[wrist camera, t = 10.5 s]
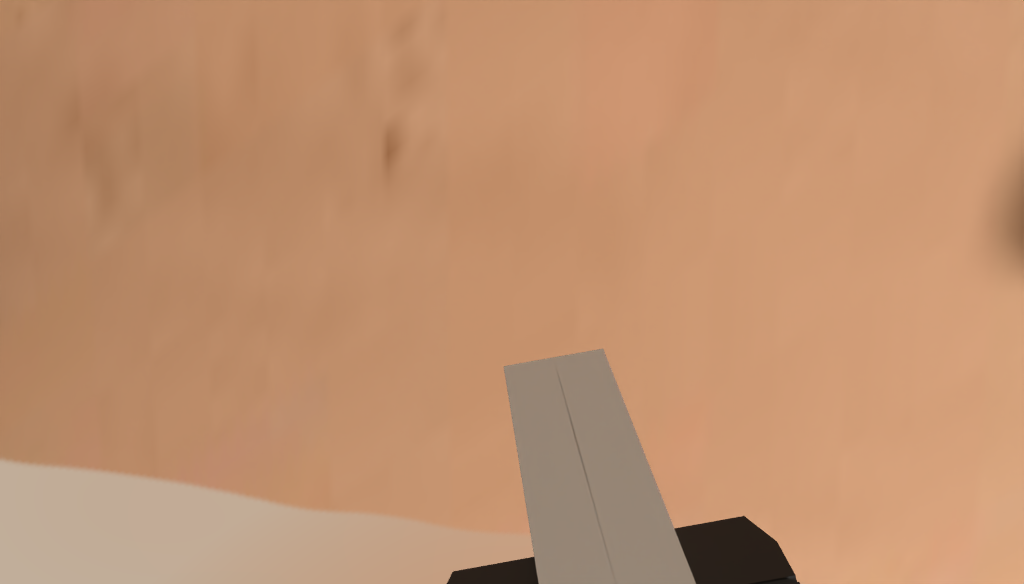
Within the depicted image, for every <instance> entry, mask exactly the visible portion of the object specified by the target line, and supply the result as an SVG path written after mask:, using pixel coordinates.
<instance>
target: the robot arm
mask: <svg viewBox="0 0 1024 584" xmlns="http://www.w3.org/2000/svg"><path fill="white" fill-rule="evenodd" d="M504 371H505V377H506V384H507V390H508V396H509V402H510V408H511V415H512V421H513V427H514V433H515V440H516V446H517V452H518V458H519V464H520V471H521V477H522V483H523V489H524V496H525V502H526V508H527V514H528V520H529V527H530V533H531V539H532V545H533V551H534V557H531V558H525V559H520V560H514V561H509V562H503V563H498V564H493V565H487V566H481V567H476V568H470V569H465V570H459V571H454V572H452V575H451V577H450V579H449V581H448V583H447V584H800V583H799V582H797V580H796V576H795V574H794V572H793V570H792V568H791V566H790V565H789V563H788V561H787V559H786V557H785V556H784V554H783V552H782V550H781V548H780V546H779V545H778V543H777V541H775V540H774V539H773V538H772V537H770V536H769V535H768V534H766V533H765V532H764V531H763V530H761V529H760V528H759V527H757V526H756V525H755V524H754V523H752V522H751V521H750V520H748V519H747V518H746V517H745V516H742V517H736V518H731V519H725V520H719V521H714V522H708V523H703V524H697V525H692V526H686V527H681V528H675V529H674V527H673V524H672V522H671V519H670V517H669V514H668V512H667V509H666V507H665V504H664V502H663V499H662V496H661V494H660V491H659V489H658V486H657V484H656V481H655V479H654V476H653V474H652V471H651V469H650V466H649V464H648V461H647V459H646V456H645V454H644V451H643V448H642V446H641V443H640V441H639V438H638V436H637V433H636V431H635V428H634V426H633V423H632V421H631V418H630V416H629V413H628V411H627V408H626V405H625V403H624V400H623V398H622V395H621V393H620V390H619V388H618V385H617V383H616V380H615V378H614V375H613V373H612V370H611V368H610V365H609V362H608V360H607V357H606V355H605V352H604V350H603V349H599V350H593V351H587V352H582V353H576V354H570V355H565V356H559V357H554V358H548V359H542V360H537V361H531V362H525V363H520V364H514V365H508V366H504Z"/></svg>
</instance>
